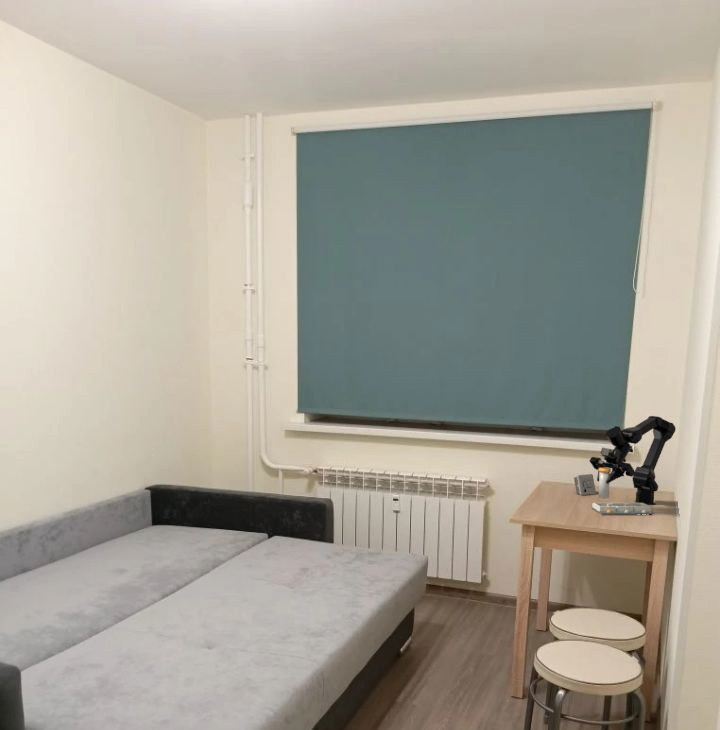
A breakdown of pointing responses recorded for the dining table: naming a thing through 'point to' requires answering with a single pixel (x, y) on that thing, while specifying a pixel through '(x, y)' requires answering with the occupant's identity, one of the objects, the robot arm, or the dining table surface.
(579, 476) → the electrical switch
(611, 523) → the dining table surface
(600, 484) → the plug
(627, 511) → the grey compartment tray
